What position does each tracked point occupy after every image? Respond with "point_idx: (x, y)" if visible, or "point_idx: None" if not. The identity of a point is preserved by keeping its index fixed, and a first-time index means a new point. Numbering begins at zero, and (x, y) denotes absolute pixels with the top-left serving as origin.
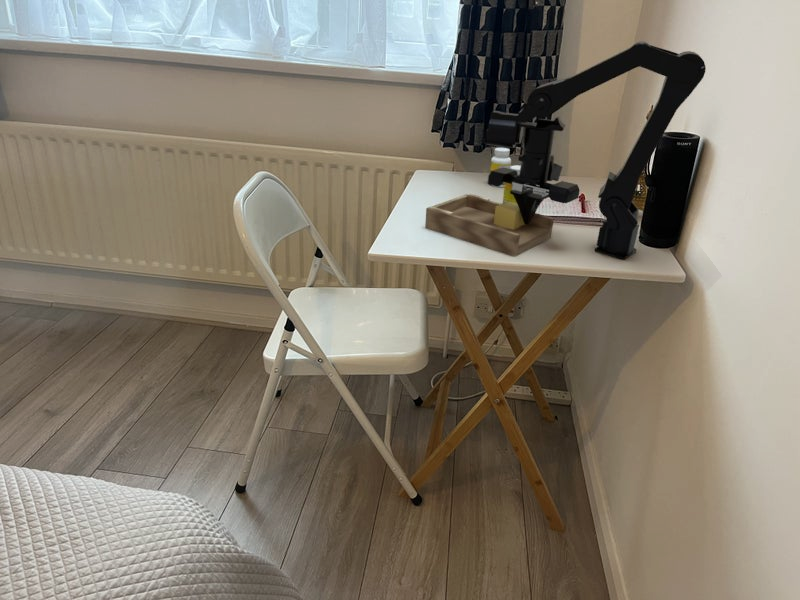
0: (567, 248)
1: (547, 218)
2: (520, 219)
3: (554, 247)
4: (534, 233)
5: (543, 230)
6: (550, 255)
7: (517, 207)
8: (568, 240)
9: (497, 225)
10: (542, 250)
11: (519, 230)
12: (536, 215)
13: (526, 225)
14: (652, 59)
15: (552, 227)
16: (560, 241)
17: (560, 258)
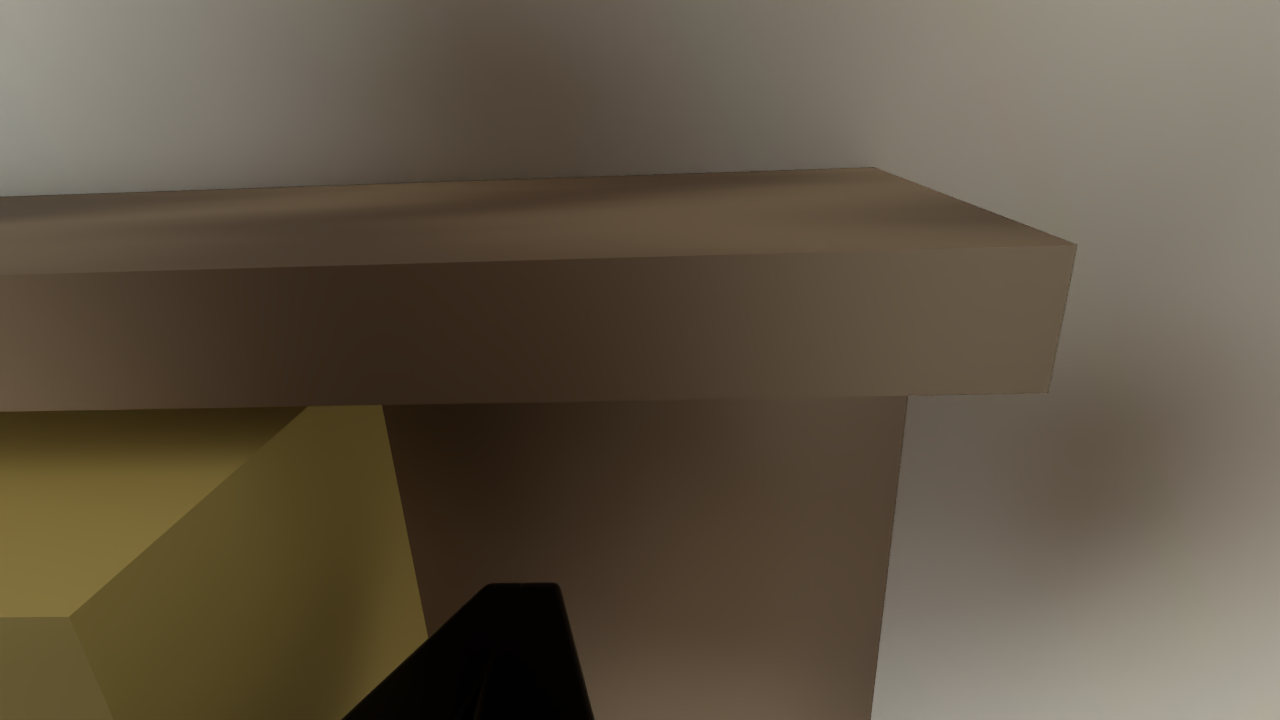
0: (1265, 383)
1: (890, 386)
2: (348, 645)
3: (1075, 480)
4: (773, 628)
5: (821, 399)
6: (1117, 714)
7: None
8: (1193, 26)
9: None
10: (975, 658)
11: None
12: (511, 396)
13: (439, 406)
14: None
15: (945, 196)
16: (1076, 193)
17: (1255, 712)
